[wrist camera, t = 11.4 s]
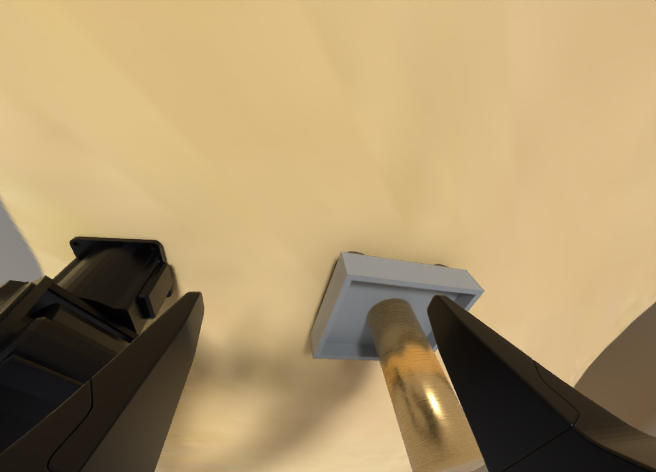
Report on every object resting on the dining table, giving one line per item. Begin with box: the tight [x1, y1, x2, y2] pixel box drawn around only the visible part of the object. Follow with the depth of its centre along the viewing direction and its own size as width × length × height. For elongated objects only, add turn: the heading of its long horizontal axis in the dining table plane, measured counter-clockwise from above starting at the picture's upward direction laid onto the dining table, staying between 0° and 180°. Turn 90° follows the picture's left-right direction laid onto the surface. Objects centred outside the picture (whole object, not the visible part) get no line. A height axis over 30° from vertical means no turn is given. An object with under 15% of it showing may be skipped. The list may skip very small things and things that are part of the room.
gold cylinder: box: [367, 298, 485, 472], centre depth 22 cm, size 5×5×12 cm
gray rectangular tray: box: [311, 252, 484, 360], centre depth 28 cm, size 14×12×4 cm
